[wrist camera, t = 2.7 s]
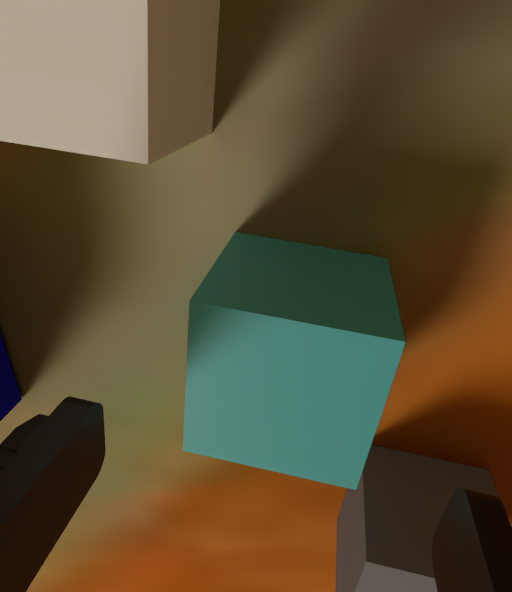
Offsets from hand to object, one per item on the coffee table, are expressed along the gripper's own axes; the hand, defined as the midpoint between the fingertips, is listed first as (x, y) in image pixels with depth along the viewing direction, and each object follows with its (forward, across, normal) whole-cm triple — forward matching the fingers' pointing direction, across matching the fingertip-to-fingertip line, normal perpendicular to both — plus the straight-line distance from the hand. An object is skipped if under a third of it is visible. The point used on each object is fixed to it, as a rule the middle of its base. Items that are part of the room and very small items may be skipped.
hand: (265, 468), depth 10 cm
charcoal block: (+7, -6, +7) cm, 12 cm away
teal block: (+7, 0, -1) cm, 7 cm away
